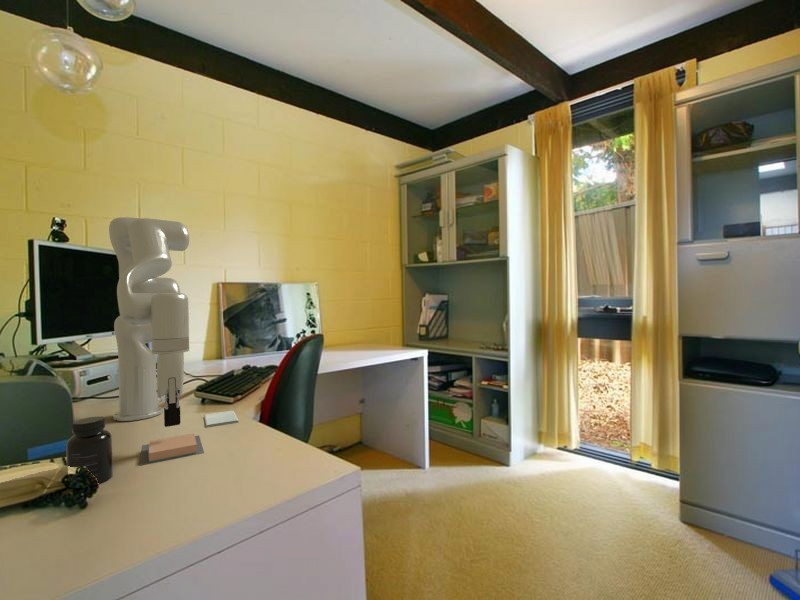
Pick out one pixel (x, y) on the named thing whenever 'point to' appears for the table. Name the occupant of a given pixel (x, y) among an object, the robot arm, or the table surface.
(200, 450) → the mat
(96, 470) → the supplement bottle
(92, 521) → the table surface
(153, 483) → the table surface
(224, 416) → the hard drive
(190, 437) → the tile
